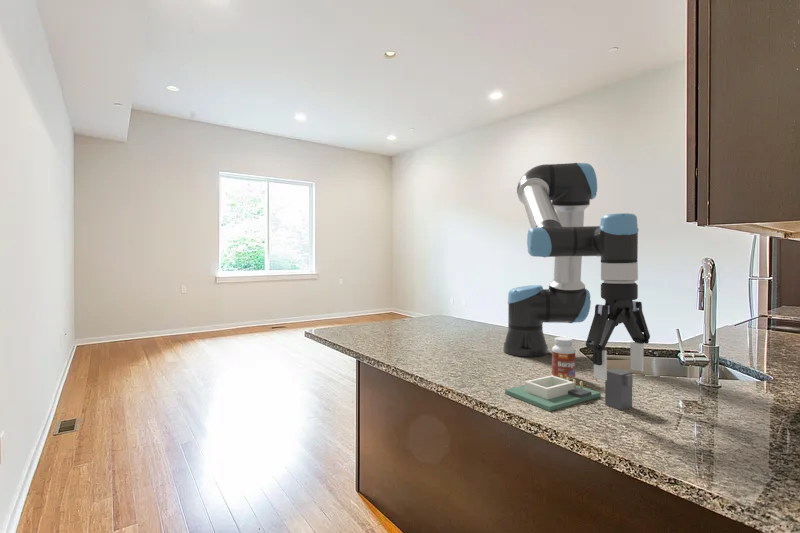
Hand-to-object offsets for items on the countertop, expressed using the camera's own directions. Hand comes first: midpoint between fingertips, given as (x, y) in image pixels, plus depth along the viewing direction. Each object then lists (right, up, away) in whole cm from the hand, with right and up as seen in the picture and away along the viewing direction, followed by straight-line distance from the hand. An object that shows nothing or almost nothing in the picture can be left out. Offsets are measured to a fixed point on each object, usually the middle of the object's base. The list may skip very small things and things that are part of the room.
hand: (619, 374), depth 98 cm
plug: (0, -7, +1) cm, 7 cm away
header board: (-12, -7, +8) cm, 17 cm away
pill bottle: (-4, -7, +23) cm, 24 cm away
